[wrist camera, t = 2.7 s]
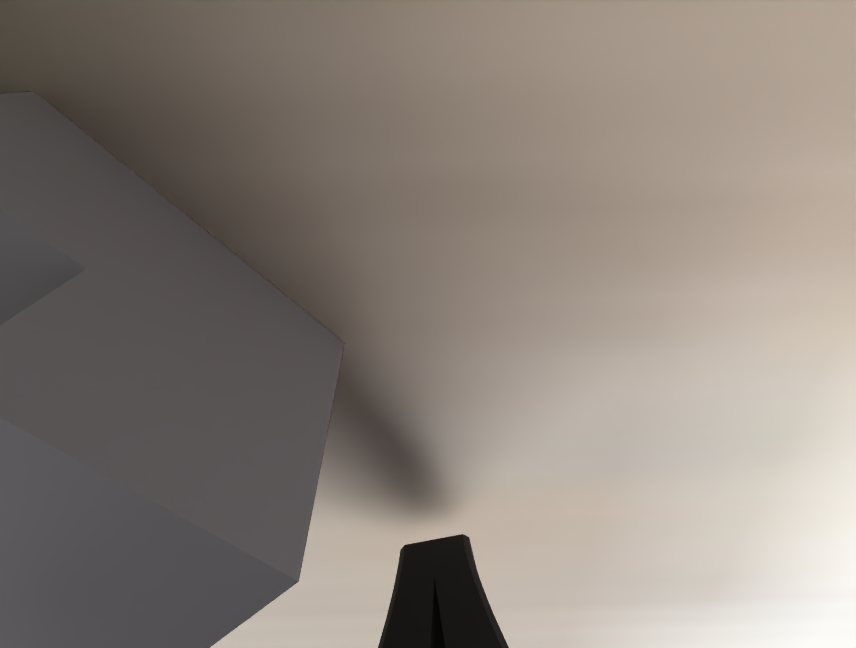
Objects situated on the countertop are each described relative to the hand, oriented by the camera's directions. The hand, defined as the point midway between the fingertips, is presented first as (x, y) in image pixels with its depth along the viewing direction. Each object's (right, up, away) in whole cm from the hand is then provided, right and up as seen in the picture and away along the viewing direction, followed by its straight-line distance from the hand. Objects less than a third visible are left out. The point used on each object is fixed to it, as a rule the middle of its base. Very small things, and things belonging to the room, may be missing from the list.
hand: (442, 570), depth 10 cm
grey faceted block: (-5, +5, -1) cm, 8 cm away
